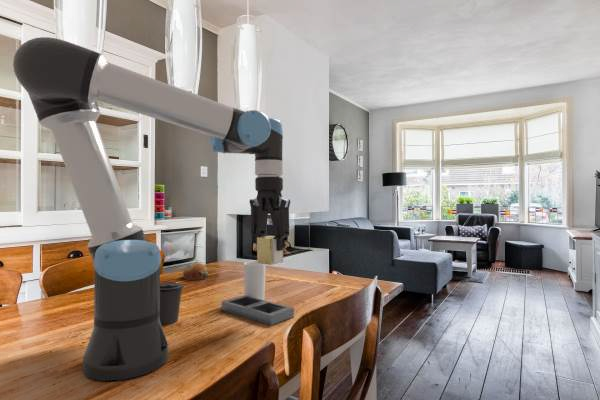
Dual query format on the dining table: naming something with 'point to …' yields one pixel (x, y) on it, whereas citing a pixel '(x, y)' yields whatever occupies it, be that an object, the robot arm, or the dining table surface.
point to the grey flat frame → (258, 309)
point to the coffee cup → (169, 302)
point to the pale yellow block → (265, 250)
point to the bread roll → (196, 272)
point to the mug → (254, 280)
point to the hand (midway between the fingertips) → (269, 261)
